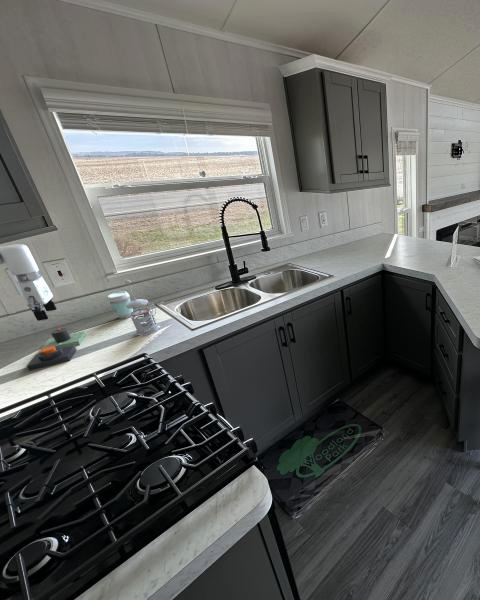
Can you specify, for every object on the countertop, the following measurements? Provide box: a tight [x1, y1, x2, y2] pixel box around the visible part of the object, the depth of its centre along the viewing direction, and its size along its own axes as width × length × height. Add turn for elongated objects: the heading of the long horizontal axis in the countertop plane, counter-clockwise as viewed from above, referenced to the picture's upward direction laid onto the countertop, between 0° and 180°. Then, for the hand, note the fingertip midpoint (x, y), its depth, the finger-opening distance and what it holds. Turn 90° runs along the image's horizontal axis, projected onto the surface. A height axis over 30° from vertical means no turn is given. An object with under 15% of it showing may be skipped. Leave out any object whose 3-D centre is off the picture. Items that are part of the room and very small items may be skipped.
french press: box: [124, 279, 161, 337], centre depth 146 cm, size 10×12×25 cm
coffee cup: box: [107, 290, 134, 320], centre depth 162 cm, size 8×8×12 cm
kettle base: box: [26, 346, 78, 371], centre depth 130 cm, size 12×9×4 cm
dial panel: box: [40, 330, 87, 351], centre depth 142 cm, size 12×10×2 cm
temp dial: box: [50, 327, 71, 343], centre depth 140 cm, size 5×5×5 cm
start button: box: [40, 346, 57, 355], centre depth 129 cm, size 4×4×2 cm
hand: (47, 314), depth 135 cm, fingers open, 9 cm apart
